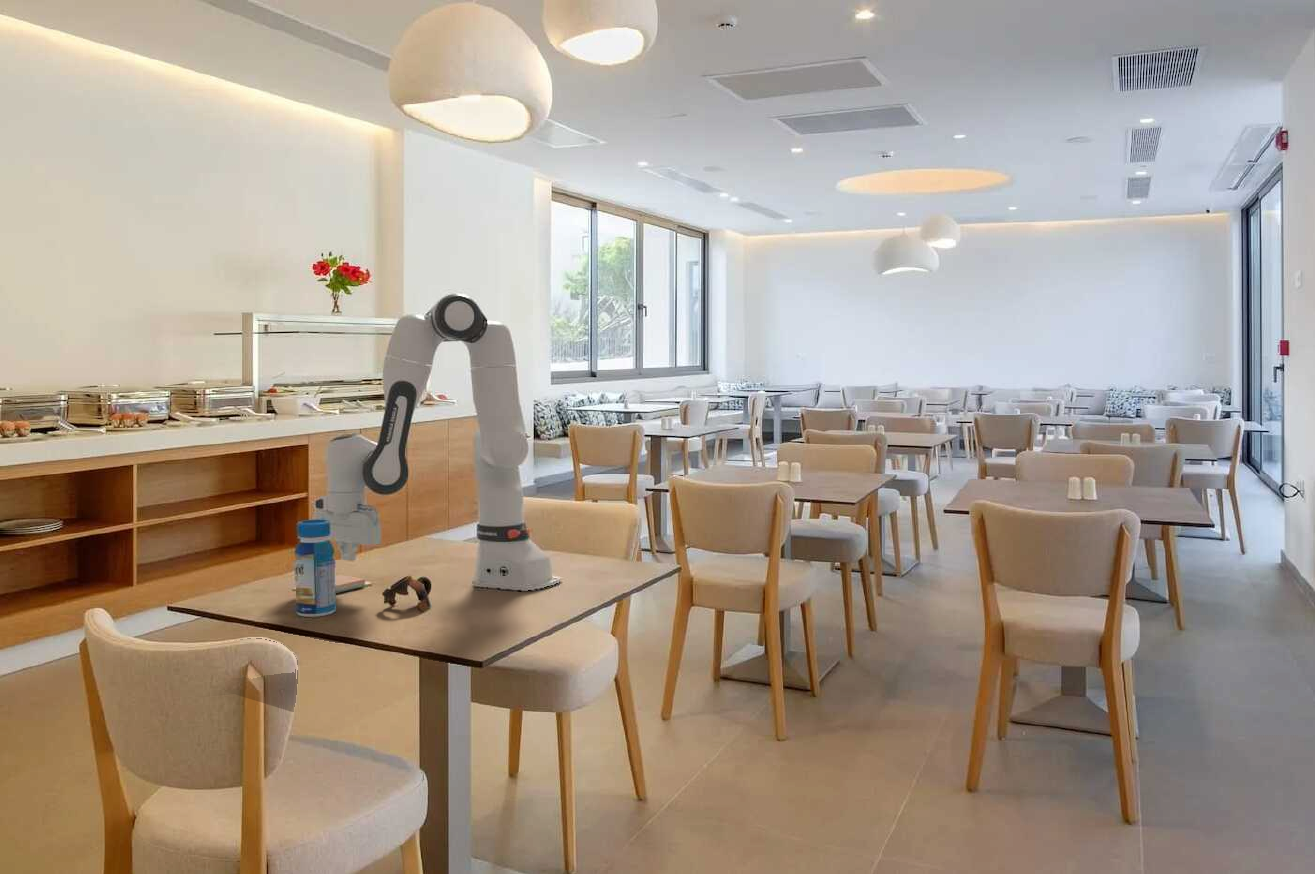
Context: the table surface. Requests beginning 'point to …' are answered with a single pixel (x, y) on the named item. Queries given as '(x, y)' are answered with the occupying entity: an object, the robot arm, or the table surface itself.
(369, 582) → the cream cloth
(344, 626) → the table surface
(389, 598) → the brown ring-shaped piece
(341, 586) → the glazed tile
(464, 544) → the table surface
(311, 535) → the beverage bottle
